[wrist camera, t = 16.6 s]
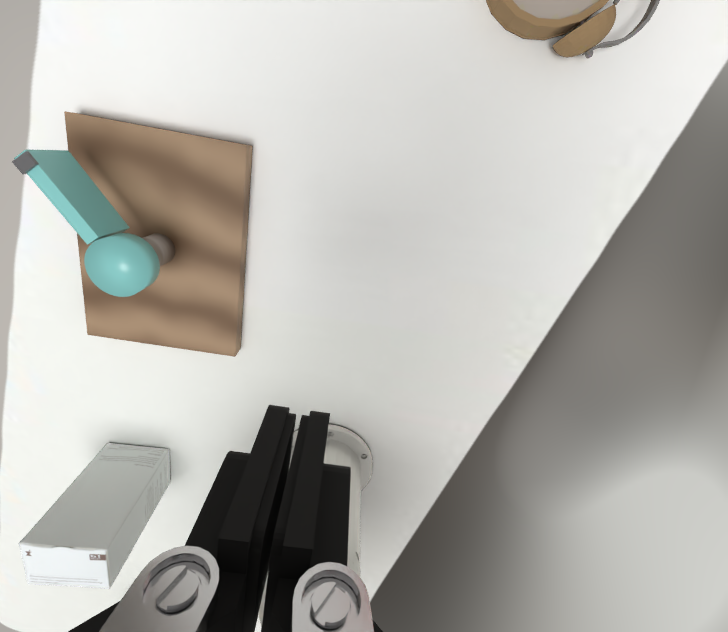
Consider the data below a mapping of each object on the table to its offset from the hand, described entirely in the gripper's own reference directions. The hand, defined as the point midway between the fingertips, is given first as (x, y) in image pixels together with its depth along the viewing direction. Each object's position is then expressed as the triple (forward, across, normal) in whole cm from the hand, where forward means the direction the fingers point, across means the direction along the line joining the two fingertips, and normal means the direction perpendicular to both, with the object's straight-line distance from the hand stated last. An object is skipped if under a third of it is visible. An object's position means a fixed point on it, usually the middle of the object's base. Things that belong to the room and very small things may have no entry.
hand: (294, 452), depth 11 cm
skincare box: (+32, +22, +34) cm, 52 cm away
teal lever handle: (+27, +20, +1) cm, 34 cm away
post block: (+32, +18, +4) cm, 37 cm away
